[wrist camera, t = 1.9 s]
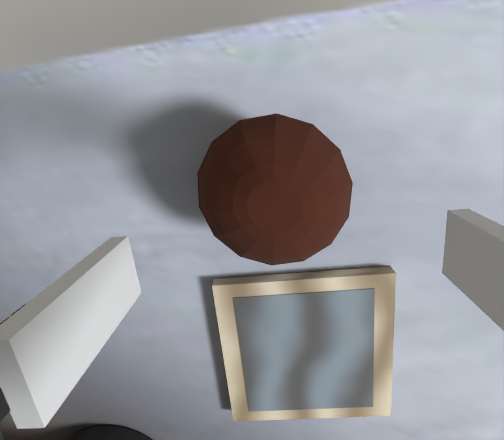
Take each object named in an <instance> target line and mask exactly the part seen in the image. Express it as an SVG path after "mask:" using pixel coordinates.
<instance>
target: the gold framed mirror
mask: <svg viewBox="0 0 504 440" xmlns="http://www.w3.org/2000/svg"><path fill="white" fill-rule="evenodd" d="M395 282H396V273H395V271H394V270H393V269H392V268H391V266H385V267H371V268H357V269H343V270H329V271H315V272H301V273H287V274H273V275H259V276H245V277H231V278H217V279H214V281H213V284H212V289H213V296H214V302H215V308H216V314H217V321H218V327H219V333H220V339H221V346H222V352H223V358H224V364H225V371H226V377H227V383H228V389H229V396H230V402H231V408H232V414H233V421H258V420H284V419H311V418H338V417H365V416H391V395H392V367H393V338H394V310H395Z"/></svg>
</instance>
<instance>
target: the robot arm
mask: <svg viewBox="0 0 504 440" xmlns="http://www.w3.org/2000/svg"><path fill="white" fill-rule="evenodd" d="M442 273H443V274H444V275H445V276H446V277H447V278H448V279H449V280H450V281H451V282H452V283H453V284H454V285H456V286H457V287H458V288H459V289H460V290H461V291H462V292H463V293H464V294H465V295H466V296H467V297H468V298H469V299H470V300H472V301H473V302H474V303H475V304H476V305H477V306H478V307H479V308H480V309H481V310H482V311H483V312H484V313H485V314H486V315H488V316H489V317H490V318H491V319H492V320H493V321H494V322H495V323H496V324H497V325H498V326H499V327H500V328H501V329H502V330H504V226H502V225H500V224H498V223H496V222H494V221H492V220H490V219H488V218H486V217H484V216H482V215H480V214H478V213H476V212H474V211H472V210H470V209H460V210H448V213H447V224H446V236H445V247H444V258H443V270H442ZM140 294H141V289H140V285H139V281H138V277H137V272H136V268H135V264H134V260H133V256H132V252H131V247H130V243H129V239H128V236H125V237H113V238H110V239H108V240H107V241H106V242H105V243H103V244H102V245H101V246H100V247H98V248H97V249H96V250H94V251H93V252H92V253H91V254H89V255H88V256H87V257H86V258H84V259H83V260H82V261H80V262H79V263H78V264H77V265H75V266H74V267H73V268H72V269H70V270H69V271H68V272H67V273H65V274H64V275H63V276H61V277H60V278H59V279H58V280H56V281H55V282H54V283H53V284H51V285H50V286H49V287H47V288H46V289H45V290H44V291H42V292H41V293H40V294H39V295H37V296H36V297H35V298H34V299H32V300H31V301H30V302H28V303H27V304H25V305H23V306H22V307H21V308H19V309H18V310H17V311H16V312H14V313H13V314H12V315H11V317H8V318H7V319H5V320H4V321H3V322H2V323H0V422H1V420H2V419H3V418H4V417H5V416H6V415H7V414H8V412H9V411H10V413H11V416H12V418H13V420H14V422H15V425H16V427H17V429H25V428H45V427H46V426H47V424H48V423H49V421H50V420H51V419H52V417H53V416H54V414H55V413H56V412H57V410H58V409H59V407H60V406H61V405H62V403H63V402H64V400H65V399H66V398H67V396H68V395H69V393H70V392H71V391H72V389H73V388H74V386H75V385H76V383H77V382H78V381H79V379H80V378H81V376H82V375H83V374H84V372H85V371H86V369H87V368H88V367H89V365H90V364H91V362H92V361H93V360H94V358H95V357H96V355H97V354H98V353H99V351H100V350H101V348H102V347H103V346H104V344H105V343H106V341H107V340H108V339H109V337H110V336H111V334H112V333H113V332H114V330H115V329H116V327H117V326H118V325H119V323H120V322H121V320H122V319H123V318H124V316H125V315H126V313H127V312H128V311H129V309H130V308H131V306H132V305H133V304H134V302H135V301H136V299H137V298H138V297H139V295H140ZM0 440H3V434H2V431H1V429H0ZM69 440H151V439H150V438H148V437H146V436H145V435H143V434H141V433H138V432H136V431H133V430H130V429H127V428H123V427H117V426H95V427H90V428H87V429H84V430H82V431H79V432H78V433H76V434H74V435H73V436H72V437H71V438H70V439H69Z"/></svg>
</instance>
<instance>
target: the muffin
mask: <svg viewBox="0 0 504 440" xmlns="http://www.w3.org/2000/svg"><path fill="white" fill-rule="evenodd" d="M351 192H352V180H351V178H350V175H349V172H348V170H347V167H346V164H345V162H344V159H343V156H342V154H341V151H340V149H339V148H338V147H337V146H336V145H335V144H333V143H332V142H331V141H330V140H329V139H328V138H327V137H326V136H325V135H324V134H323V133H322V132H321V131H319V130H318V129H317V128H316V127H315V126H314V125H313V124H310V123H307V122H303V121H300V120H297V119H293V118H290V117H287V116H283V115H280V114H272V115H266V116H260V117H255V118H249V119H244V120H240V121H238V122H237V123H236V124H234V125H233V126H232V127H231V128H229V129H228V130H227V131H225V132H224V133H223V134H222V135H220V136H219V137H218V138H216V139H215V140H214V141H212V143H211V145H210V147H209V149H208V152H207V154H206V156H205V158H204V160H203V162H202V165H201V167H200V169H199V171H198V196H199V208H200V210H201V212H202V213H203V215H204V217H205V219H206V221H207V223H208V225H209V227H210V229H211V231H212V232H213V234H214V236H215V237H216V238H217V239H219V240H220V241H221V242H223V243H224V244H225V245H226V246H228V247H229V248H230V249H231V250H233V251H234V252H235V253H236V254H238V255H239V256H240V257H244V258H247V259H251V260H254V261H258V262H262V263H265V264H269V265H277V264H285V263H292V262H300V261H304V260H306V259H308V258H309V257H311V256H312V255H314V254H316V253H317V252H319V251H321V250H322V249H324V248H325V247H327V246H329V245H330V244H331V243H332V242H333V240H334V239H335V237H336V236H337V234H338V232H339V231H340V229H341V228H342V226H343V225H344V223H345V222H346V220H347V219H348V217H349V210H350V201H351Z"/></svg>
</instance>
